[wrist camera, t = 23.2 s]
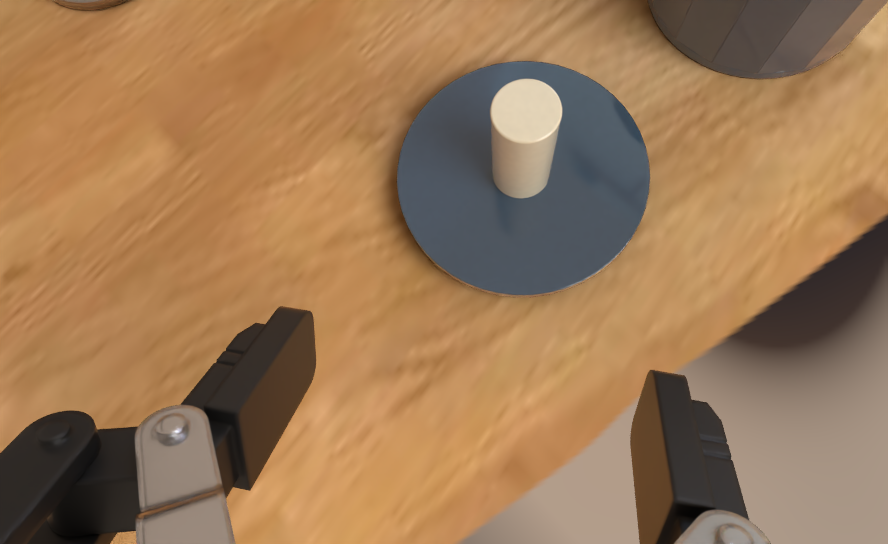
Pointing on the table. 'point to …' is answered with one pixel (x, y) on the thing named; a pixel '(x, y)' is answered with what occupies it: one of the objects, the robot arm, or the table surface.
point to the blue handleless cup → (762, 32)
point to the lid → (523, 179)
